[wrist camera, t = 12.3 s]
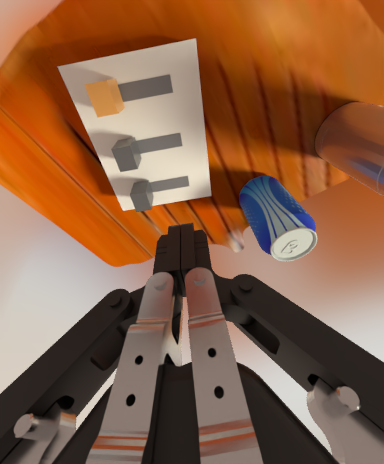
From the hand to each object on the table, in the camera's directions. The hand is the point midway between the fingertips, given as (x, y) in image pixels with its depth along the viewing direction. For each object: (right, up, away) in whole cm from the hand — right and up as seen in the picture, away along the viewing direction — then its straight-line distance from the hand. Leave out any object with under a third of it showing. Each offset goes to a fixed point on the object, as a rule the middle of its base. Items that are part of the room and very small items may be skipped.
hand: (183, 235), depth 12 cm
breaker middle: (-8, +12, +16) cm, 22 cm away
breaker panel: (-6, +16, +20) cm, 26 cm away
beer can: (+14, +8, +28) cm, 33 cm away
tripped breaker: (-9, +17, +12) cm, 23 cm away
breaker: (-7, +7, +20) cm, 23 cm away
